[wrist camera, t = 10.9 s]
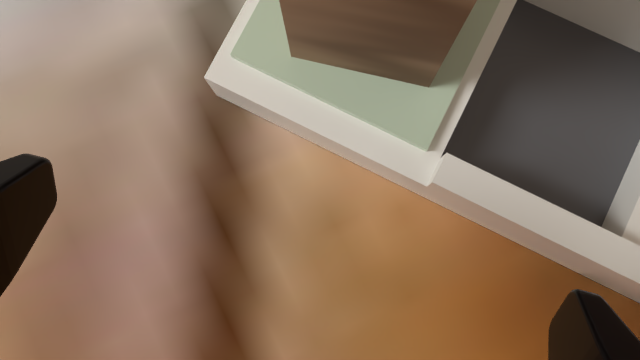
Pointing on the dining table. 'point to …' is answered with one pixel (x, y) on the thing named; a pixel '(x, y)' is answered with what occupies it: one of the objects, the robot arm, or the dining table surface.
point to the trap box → (482, 122)
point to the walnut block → (376, 34)
